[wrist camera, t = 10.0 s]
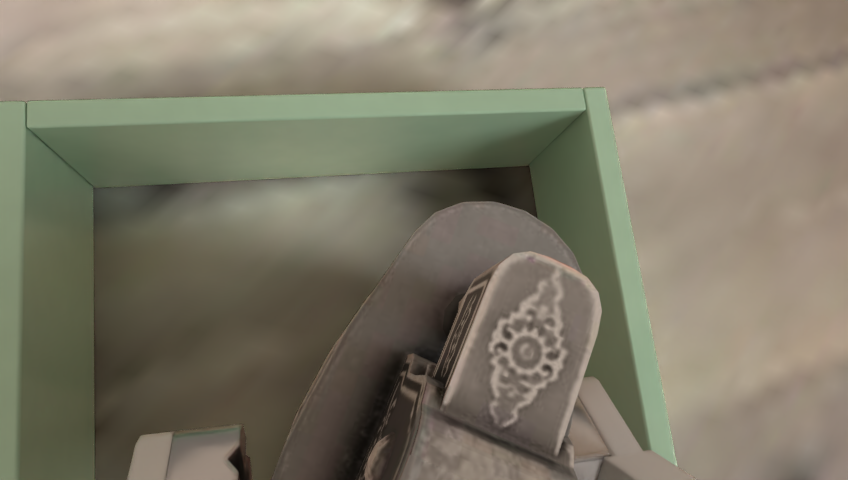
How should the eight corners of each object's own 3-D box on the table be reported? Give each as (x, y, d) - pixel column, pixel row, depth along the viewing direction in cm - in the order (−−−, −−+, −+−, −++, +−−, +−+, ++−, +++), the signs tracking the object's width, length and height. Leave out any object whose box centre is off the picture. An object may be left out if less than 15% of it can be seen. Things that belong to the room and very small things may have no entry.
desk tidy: (544, 146, 18) (606, 85, 15) (636, 710, 15) (746, 821, 11) (69, 168, 16) (-9, 99, 12) (66, 856, 13) (-40, 1066, 9)
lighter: (366, 260, 15) (458, 67, 6) (485, 313, 16) (761, 215, 6) (216, 588, 13) (-34, 1154, 4) (358, 644, 13) (476, 1310, 4)
